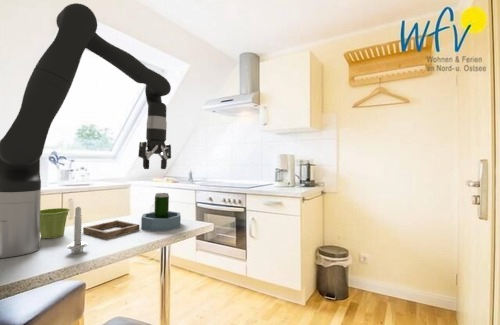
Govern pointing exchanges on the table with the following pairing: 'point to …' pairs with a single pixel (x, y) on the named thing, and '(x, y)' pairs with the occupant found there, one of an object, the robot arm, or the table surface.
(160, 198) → the beer can
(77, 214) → the screw
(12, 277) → the table surface
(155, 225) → the slate bowl
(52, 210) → the plant pot
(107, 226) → the walnut frame
